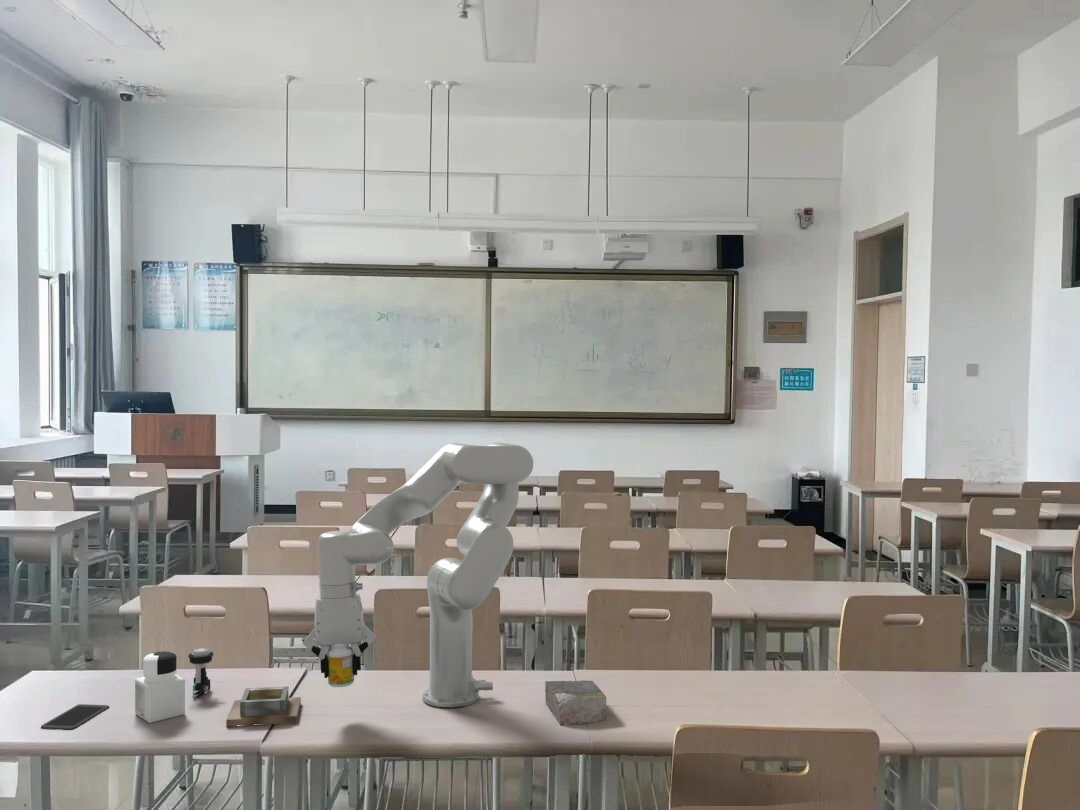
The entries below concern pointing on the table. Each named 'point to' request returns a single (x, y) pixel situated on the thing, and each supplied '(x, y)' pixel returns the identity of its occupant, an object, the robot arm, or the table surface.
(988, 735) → the table surface
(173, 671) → the container
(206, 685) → the push button
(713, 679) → the table surface
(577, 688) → the geological specimen
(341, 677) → the supplement bottle
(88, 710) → the cell phone
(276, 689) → the collar board
